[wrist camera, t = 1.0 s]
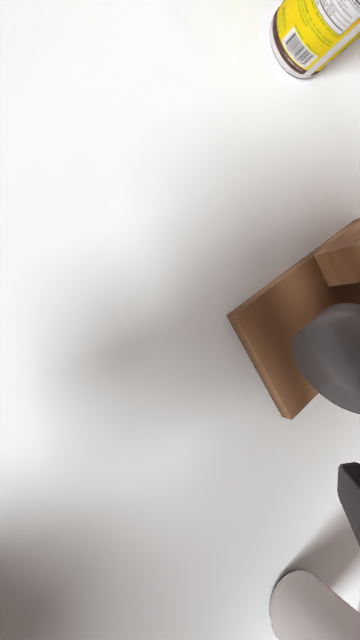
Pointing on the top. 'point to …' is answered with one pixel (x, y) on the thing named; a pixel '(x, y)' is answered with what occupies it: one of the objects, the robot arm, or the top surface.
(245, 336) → the mount
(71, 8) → the top surface
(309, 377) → the knob
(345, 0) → the supplement bottle
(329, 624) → the beverage can
